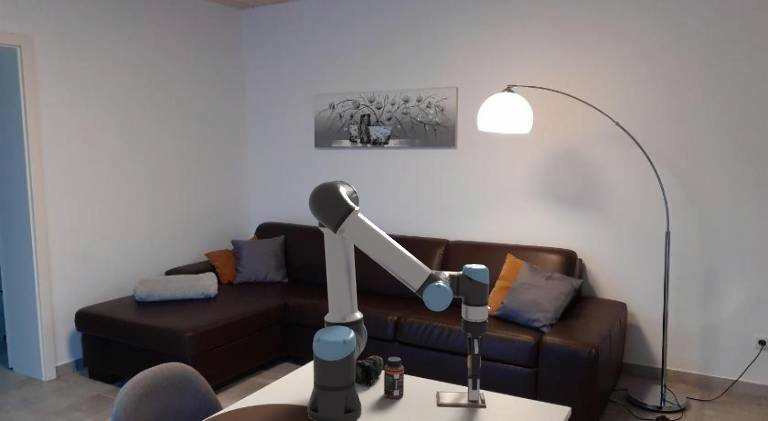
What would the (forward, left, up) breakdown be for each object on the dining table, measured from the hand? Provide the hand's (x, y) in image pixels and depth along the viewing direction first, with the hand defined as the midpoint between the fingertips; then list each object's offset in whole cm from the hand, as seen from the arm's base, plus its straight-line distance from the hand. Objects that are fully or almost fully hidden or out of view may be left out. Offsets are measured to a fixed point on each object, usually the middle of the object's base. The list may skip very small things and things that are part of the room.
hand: (473, 396), depth 169 cm
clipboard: (-3, +2, -2) cm, 5 cm away
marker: (0, 0, -1) cm, 1 cm away
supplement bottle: (-23, +4, -2) cm, 24 cm away
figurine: (-32, +16, -2) cm, 36 cm away
